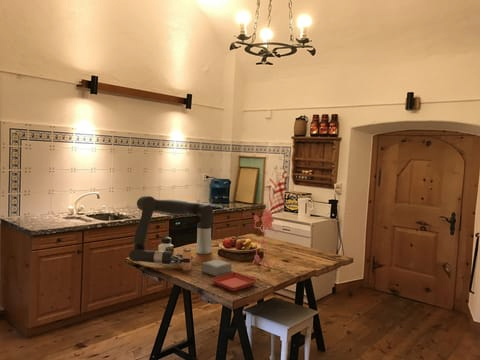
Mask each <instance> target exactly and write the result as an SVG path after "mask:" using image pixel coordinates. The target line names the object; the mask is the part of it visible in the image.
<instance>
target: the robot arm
mask: <svg viewBox="0 0 480 360" xmlns="http://www.w3.org/2000/svg"><path fill="white" fill-rule="evenodd" d="M136 207H137V208H138V210H140V211H141V217H140V220H139V222H138V224H137V226H136V227H135V231H134V236H133V241H132V243H133V245H134V247H133V249H132V250H130V251H129V253H128V258H129V260H130V261H133V262H147V263H153V264H158V265H159V264H160V265H172V264H173V265H174V264H177V265H179V264H181V265H182V263H183V262H185V263H190V259H185V258H184V259H183V258H182V255H183V253H179V252H178V253H175V254H174V255H173V254H172V252H171V251H158V250H145V248H146V246H145V245H146V240H147V234H148V230H149V226H150V223H151V220H152V217H153V214H154V212H160V213H164V214H170V215H176V216H177V215H178V216H179V215H180V216H182V215H194V216H198V217H200V221H199V222H198V223H197V229H196V231H197V232H196V234H197V235H196V253H197V254H200V255H208V254H211V253H212V244H213V242H212V241H213V238H212V225H213V222H214V221H213V219H214V208H213V206H211V204H207V203H201V202H199V203H192V202H188V201H184V200H177V199H156V198H155V197H153V196H150V195H146V196H145V195H144V196H141V197H139V198H138V199H137V201H136ZM192 260H193V255H191V261H192Z"/></svg>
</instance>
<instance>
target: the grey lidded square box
mask: <svg viewBox="0 0 480 360" xmlns="http://www.w3.org/2000/svg"><path fill="white" fill-rule="evenodd" d="M201 272H203V273H206V274H208V275H211V276H214V277H218V276H221V275H225V274H228V273H232V263H231V262H227V261H224V260H220V259H218V258H216V259H213V260H208V261H205V262H202V263H201Z"/></svg>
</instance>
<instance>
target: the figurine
mask: <svg viewBox="0 0 480 360" xmlns="http://www.w3.org/2000/svg"><path fill="white" fill-rule="evenodd" d="M262 214H263V216H261V217H259V215H257V214H255V215H254V216H253V219H254V229H259V230H260V232H262V234H263V235H264V236H263V238H262V239H261V240H260V242H259V243H256V244H254V245H255V247H254V248H257V245H259V244H261V245H263V246H264V254H266V251H267V249H266V241H265V237H266V234H267V232H266V229H267V230H268V231H270V230H272V231H273V232H274V233H275V234H277V232H276V230H275V229H274V228H273V227H272V226H273V222H274V221H275V219H274V218H273V213H272V212H271V210H270V209H269V210H267V209H266V208H265V209H264V210H263V213H262ZM260 220H261V222H262V224H261V225H260V227H259V226H258V227H257V226H256V224H257V223H259V222H260ZM262 227H263V229H262ZM257 251H258V250H257V249H255V253H256V254H254V259H253V261H252V265H254V263H255V262H257V263H259V262H260V261H262V263H260V266H259V269H261V268H262V267H263V265H264V263H265V264H266V265H267V267H268V268H269V269H270V268H271V266H270V264H269V263H270V261H268V260H266V257H264V258H262V259H263V260H262V259H261V258H260V256H259V255H258V253H257ZM268 262H269V263H268ZM273 264H275V265H276V266H278V265H277V264H276V263H274V262H273Z"/></svg>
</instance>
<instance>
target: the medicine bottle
mask: <svg viewBox="0 0 480 360" xmlns="http://www.w3.org/2000/svg"><path fill="white" fill-rule="evenodd" d="M157 247H158V248H157V249H158V250H157V251H171V252H172V254H173V255H175V254H174V250H175V249H174V248H175V246H174V244H172V238H171V237H169V236H164V237H162V238H161V244H159V245H158V246H157Z"/></svg>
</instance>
